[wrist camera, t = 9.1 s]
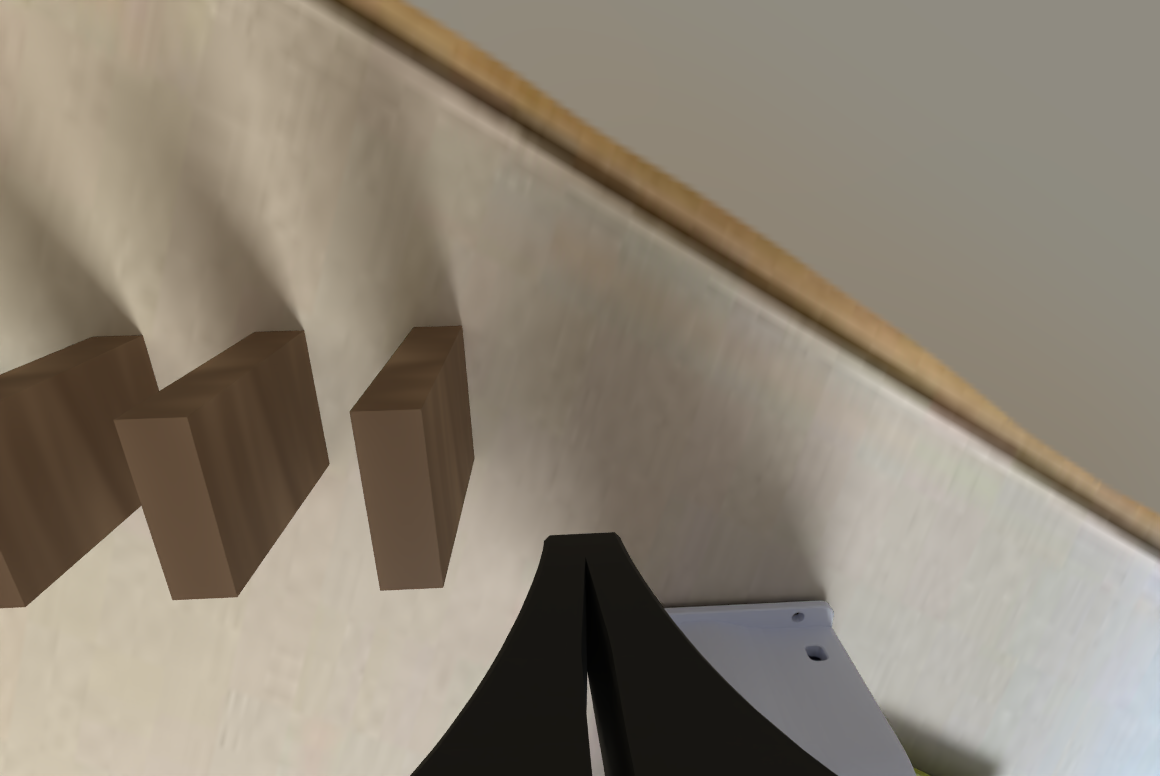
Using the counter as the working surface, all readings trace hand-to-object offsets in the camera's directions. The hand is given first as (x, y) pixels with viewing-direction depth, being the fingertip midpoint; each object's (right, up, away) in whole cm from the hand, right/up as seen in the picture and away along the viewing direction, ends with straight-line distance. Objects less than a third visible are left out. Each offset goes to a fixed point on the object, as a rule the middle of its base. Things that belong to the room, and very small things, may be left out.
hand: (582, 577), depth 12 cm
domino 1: (-15, +3, +9) cm, 18 cm away
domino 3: (-5, +3, +10) cm, 11 cm away
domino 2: (-10, +3, +9) cm, 14 cm away
